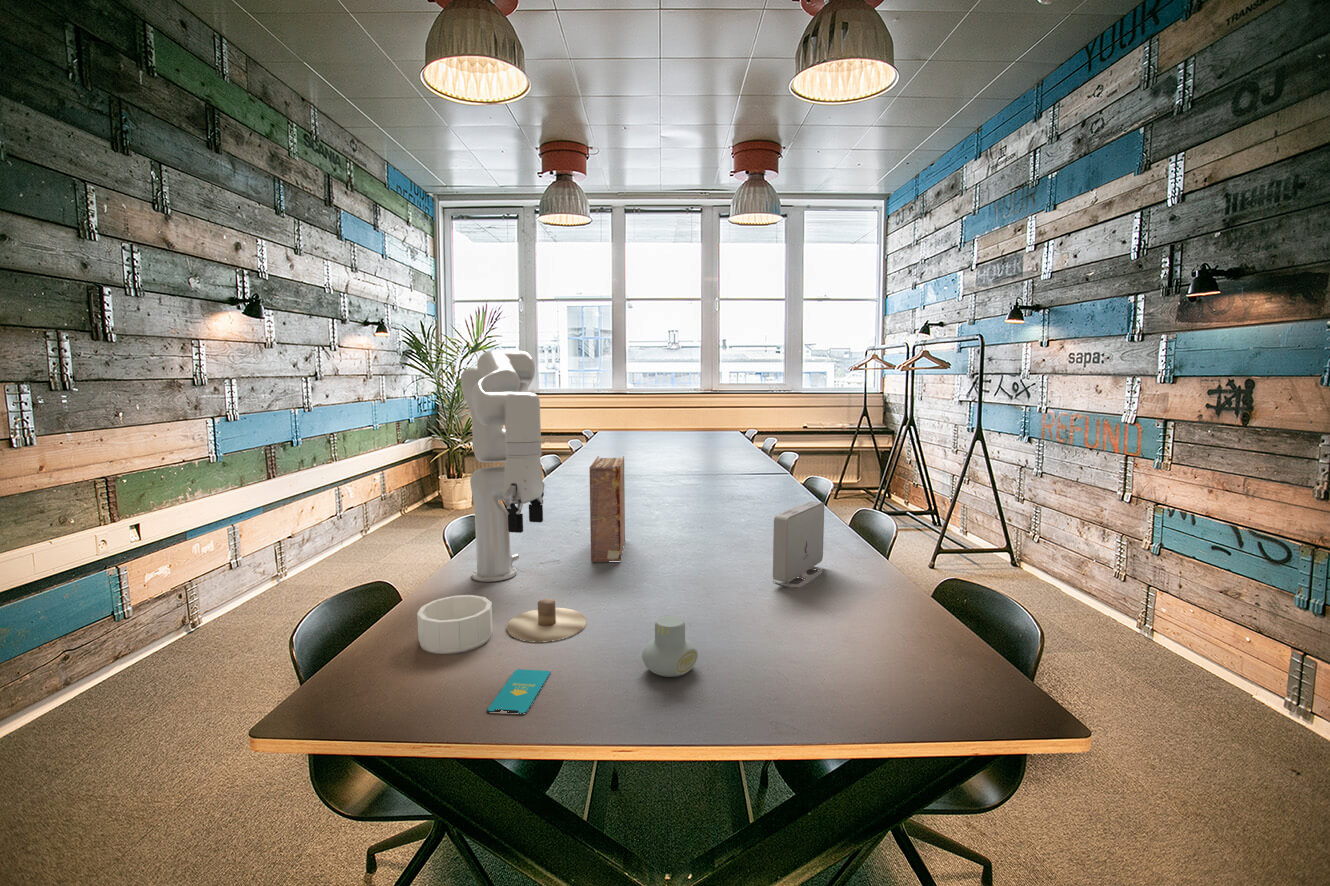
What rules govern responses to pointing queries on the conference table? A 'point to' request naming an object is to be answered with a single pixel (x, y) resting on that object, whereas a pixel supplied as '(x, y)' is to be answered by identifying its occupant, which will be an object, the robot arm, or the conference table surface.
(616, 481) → the book
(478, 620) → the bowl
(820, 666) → the conference table surface
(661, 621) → the air freshener
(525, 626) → the lid
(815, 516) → the network device
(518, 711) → the smartphone
